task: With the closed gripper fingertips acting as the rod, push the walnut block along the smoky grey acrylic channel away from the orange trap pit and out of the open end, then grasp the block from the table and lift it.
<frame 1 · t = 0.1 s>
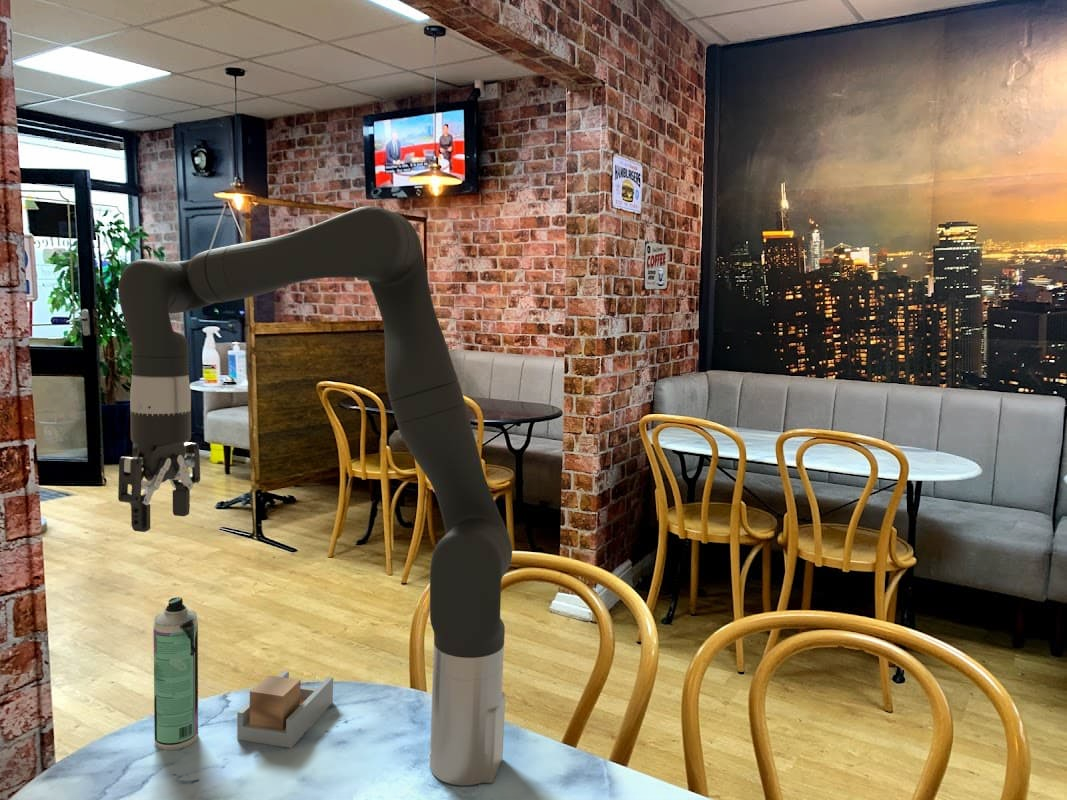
hand: (162, 522, 110), 29 cm above the table, tool pointing down, fingers open, 8 cm apart
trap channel: (285, 721, 114), on the table
walnut block: (275, 719, 111), point 2 cm above the table, touching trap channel
spray can: (176, 740, 108), on the table
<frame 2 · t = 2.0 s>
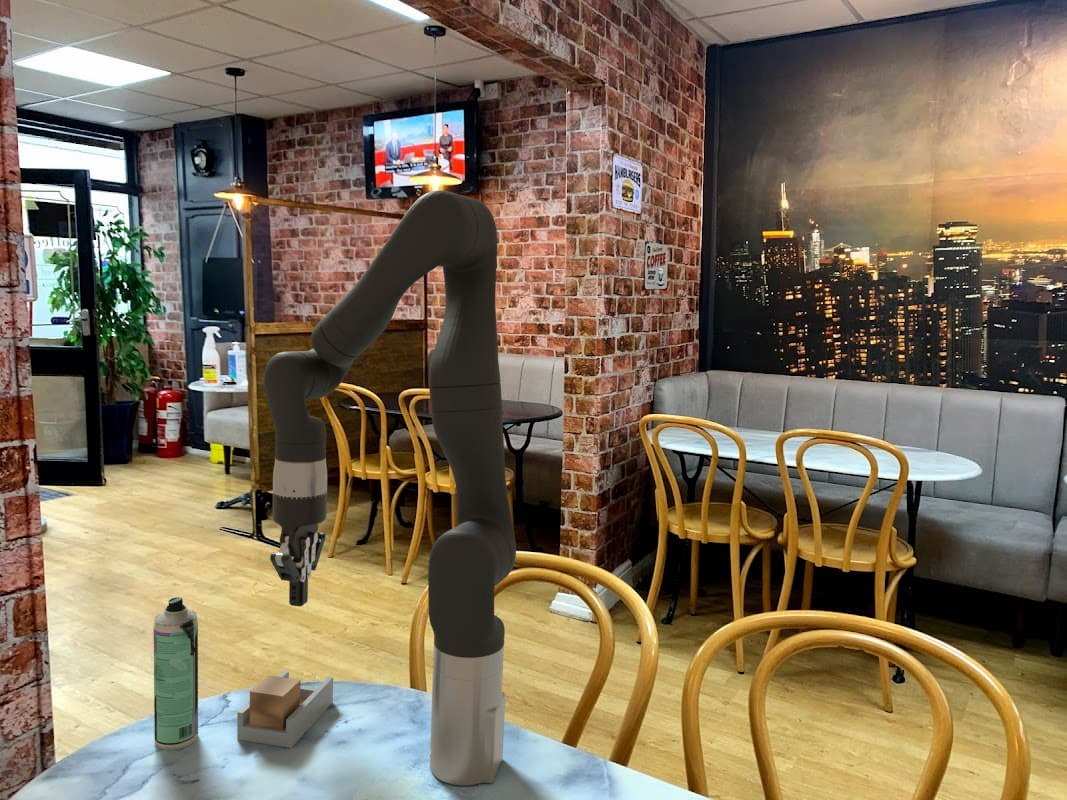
hand: (298, 604, 115), 16 cm above the table, tool pointing down, fingers closed
nothing on the table moved.
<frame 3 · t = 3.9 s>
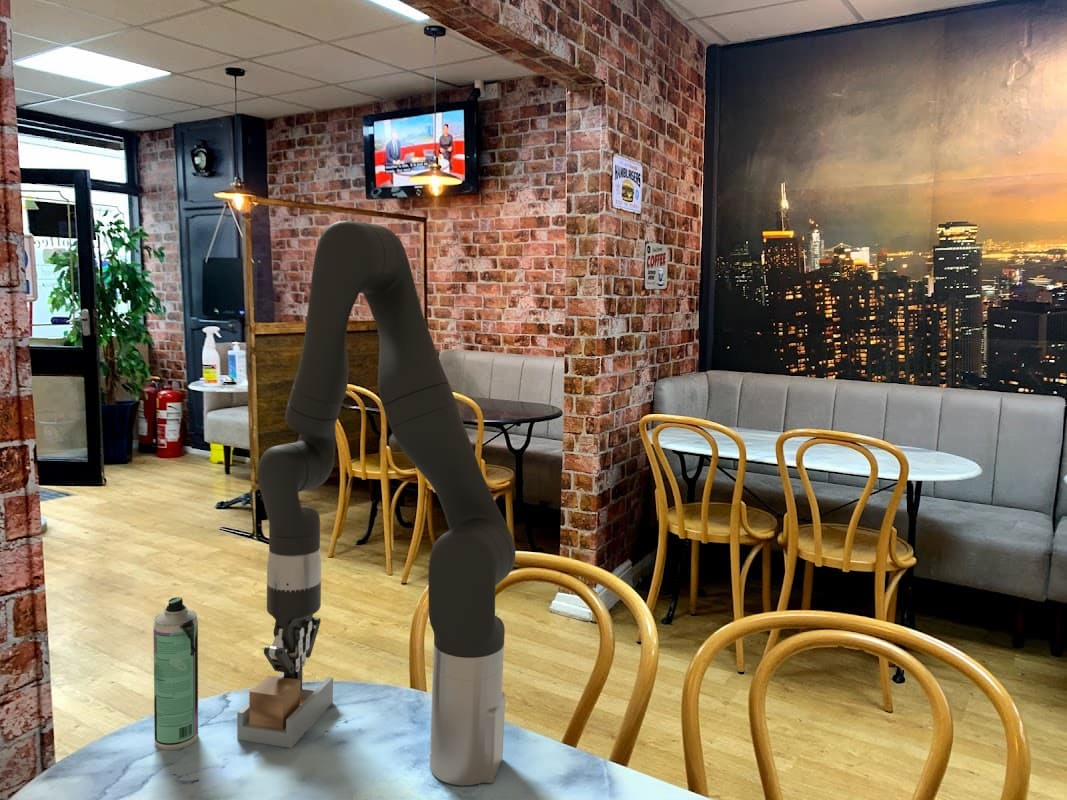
hand: (293, 692, 115), 3 cm above the table, tool pointing down, fingers closed
walnut block: (275, 719, 111), point 2 cm above the table, touching gripper
everything else where it was.
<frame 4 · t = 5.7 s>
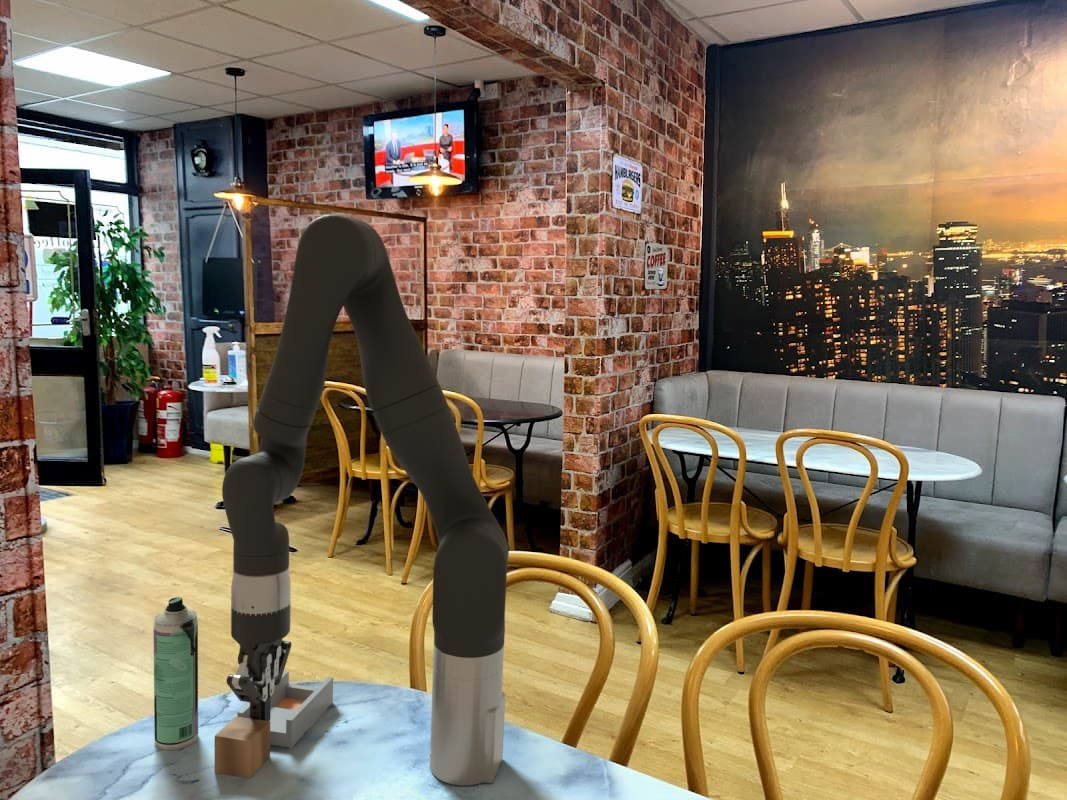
hand: (260, 723, 107), 4 cm above the table, tool pointing down, fingers closed
walnut block: (252, 736, 105), point 2 cm above the table, tilted 90°, touching gripper
everything else where it was.
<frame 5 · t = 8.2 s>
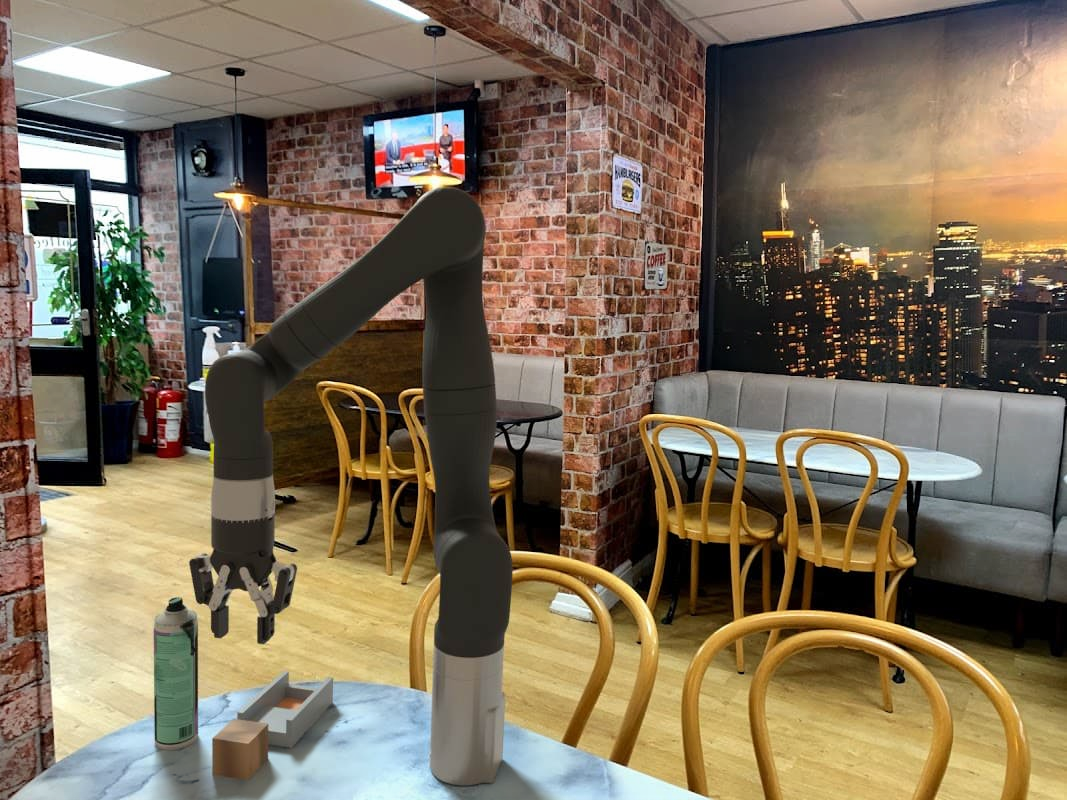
hand: (242, 638, 101), 17 cm above the table, tool pointing down, fingers open, 5 cm apart
walnut block: (250, 738, 105), point 2 cm above the table, tilted 90°
everything else where it was.
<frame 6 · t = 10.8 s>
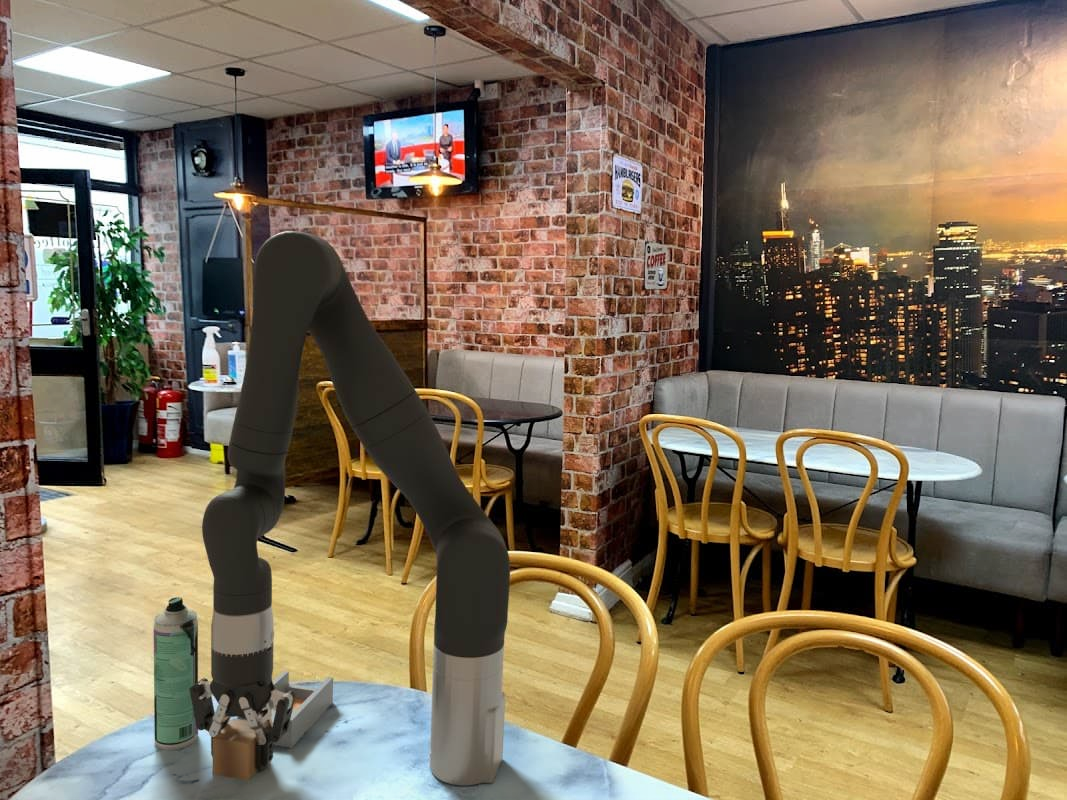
hand: (242, 762, 103), 0 cm above the table, tool pointing down, fingers open, 5 cm apart
walnut block: (251, 738, 105), point 2 cm above the table, tilted 90°, touching gripper
everything else where it was.
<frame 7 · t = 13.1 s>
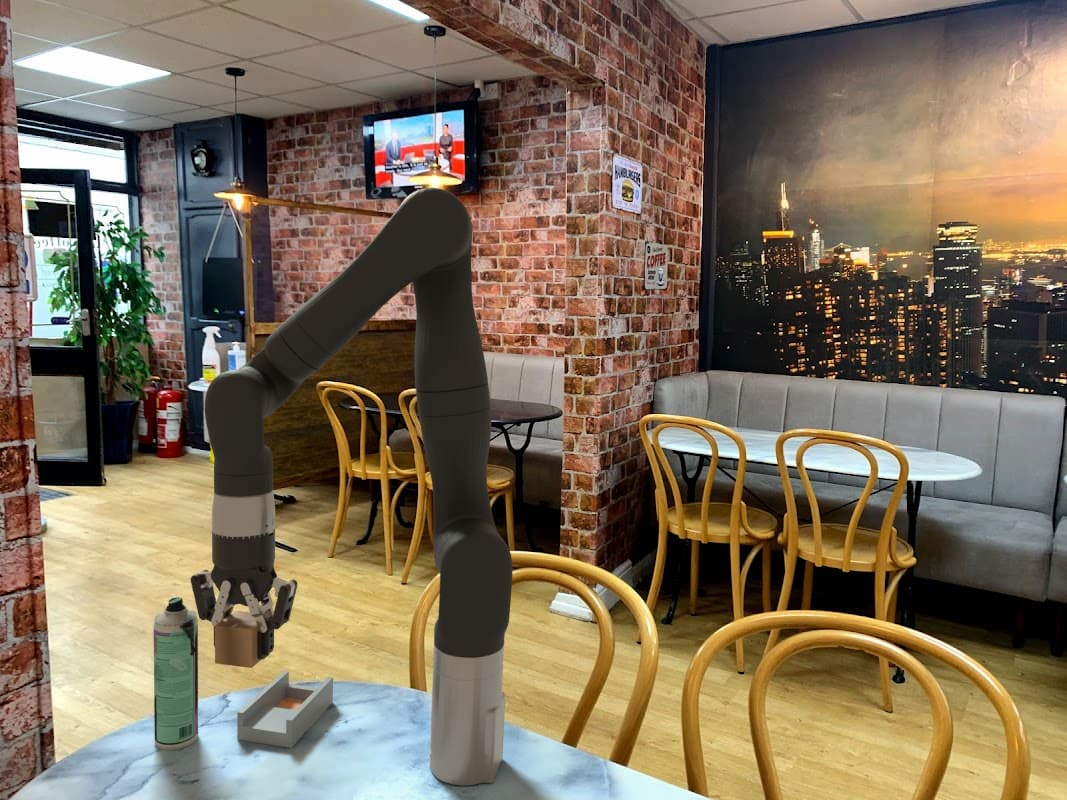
hand: (244, 653, 101), 15 cm above the table, tool pointing down, fingers closed on walnut block, 5 cm apart
walnut block: (254, 631, 103), point 17 cm above the table, tilted 90°, touching gripper
everything else where it was.
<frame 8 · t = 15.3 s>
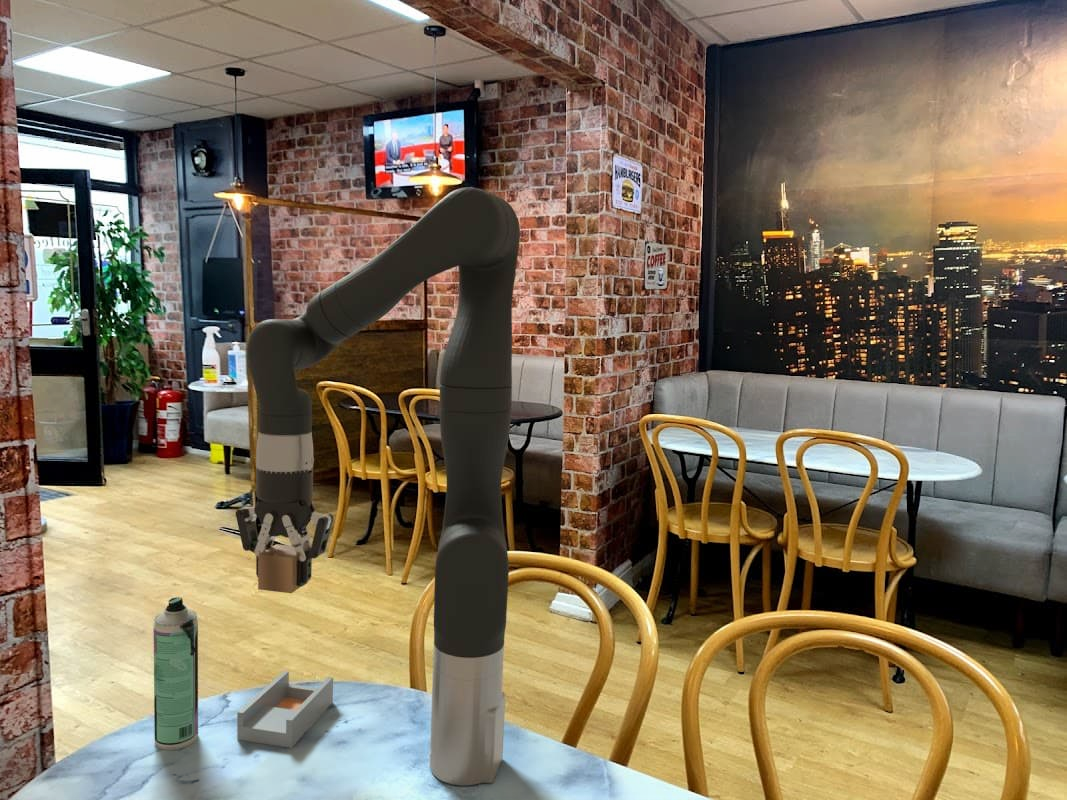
hand: (283, 582, 110), 21 cm above the table, tool pointing down, fingers closed on walnut block, 5 cm apart
walnut block: (292, 562, 113), point 23 cm above the table, tilted 90°, touching gripper
everything else where it was.
at the end: the gripper is holding walnut block; walnut block point 23.4 cm above the table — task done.
